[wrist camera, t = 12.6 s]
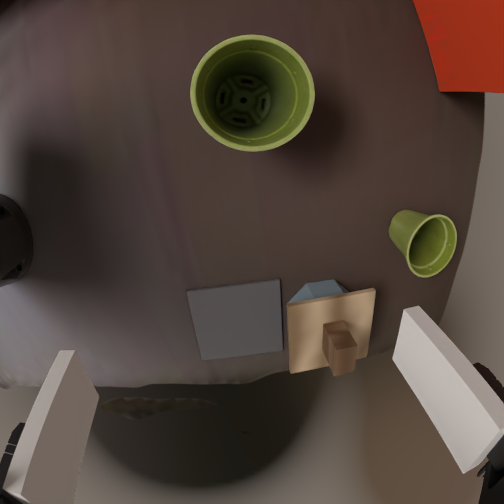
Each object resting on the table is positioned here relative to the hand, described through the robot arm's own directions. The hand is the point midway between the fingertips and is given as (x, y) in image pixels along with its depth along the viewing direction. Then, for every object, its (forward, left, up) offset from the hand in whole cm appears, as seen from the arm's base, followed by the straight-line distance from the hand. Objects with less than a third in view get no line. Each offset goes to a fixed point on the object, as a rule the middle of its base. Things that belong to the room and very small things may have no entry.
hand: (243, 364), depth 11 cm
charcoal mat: (0, -22, -33) cm, 39 cm away
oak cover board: (+13, -22, -27) cm, 37 cm away
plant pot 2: (+28, -9, -33) cm, 44 cm away
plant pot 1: (+4, +11, -33) cm, 35 cm away
